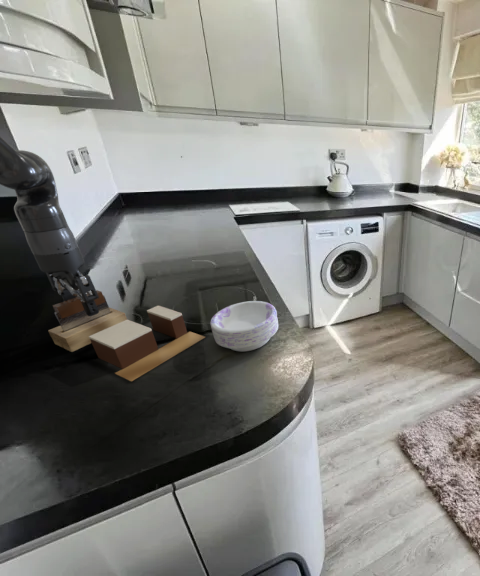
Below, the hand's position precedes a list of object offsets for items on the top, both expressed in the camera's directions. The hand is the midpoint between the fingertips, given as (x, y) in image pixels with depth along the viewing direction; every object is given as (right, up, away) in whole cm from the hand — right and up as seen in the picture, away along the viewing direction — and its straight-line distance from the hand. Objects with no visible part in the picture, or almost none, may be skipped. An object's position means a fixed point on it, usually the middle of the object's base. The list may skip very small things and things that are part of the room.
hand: (83, 310), depth 79 cm
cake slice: (+18, -6, +5) cm, 20 cm away
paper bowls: (+39, -8, +4) cm, 40 cm away
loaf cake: (+14, -10, -4) cm, 18 cm away
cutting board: (+15, -9, 0) cm, 18 cm away
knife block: (0, -7, +3) cm, 8 cm away
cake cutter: (0, -7, +3) cm, 8 cm away
